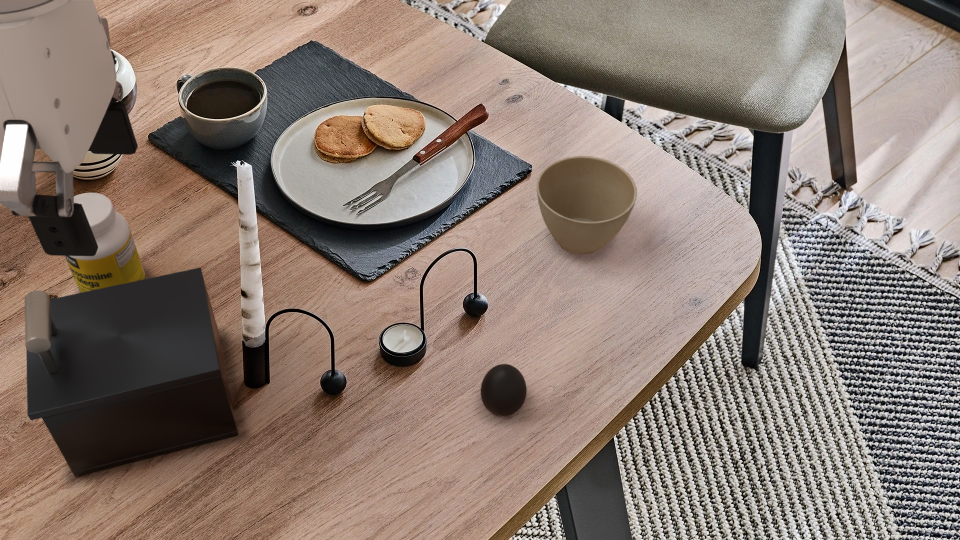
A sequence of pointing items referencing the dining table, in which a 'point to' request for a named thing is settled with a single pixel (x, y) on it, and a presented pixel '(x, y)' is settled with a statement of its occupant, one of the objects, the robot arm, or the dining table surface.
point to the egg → (503, 390)
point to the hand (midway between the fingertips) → (95, 199)
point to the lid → (117, 342)
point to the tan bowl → (585, 201)
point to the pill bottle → (106, 248)
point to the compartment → (147, 422)
